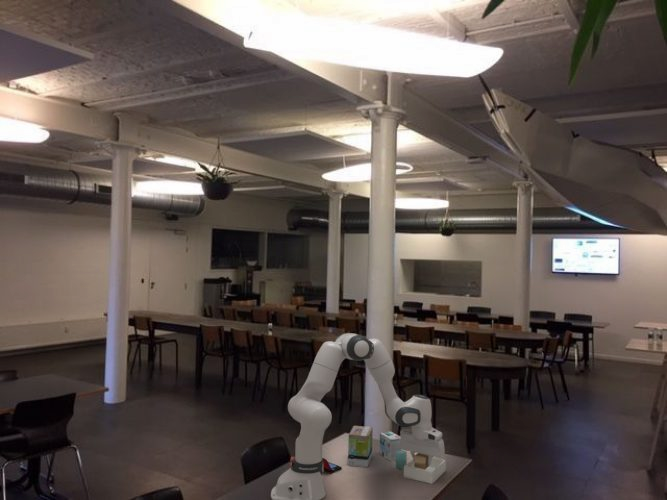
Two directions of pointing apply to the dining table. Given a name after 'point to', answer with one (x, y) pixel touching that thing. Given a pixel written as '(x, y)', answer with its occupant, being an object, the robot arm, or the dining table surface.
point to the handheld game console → (330, 467)
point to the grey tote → (425, 471)
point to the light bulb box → (389, 445)
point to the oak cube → (421, 461)
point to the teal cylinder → (401, 459)
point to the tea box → (360, 446)
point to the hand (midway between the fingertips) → (421, 463)
